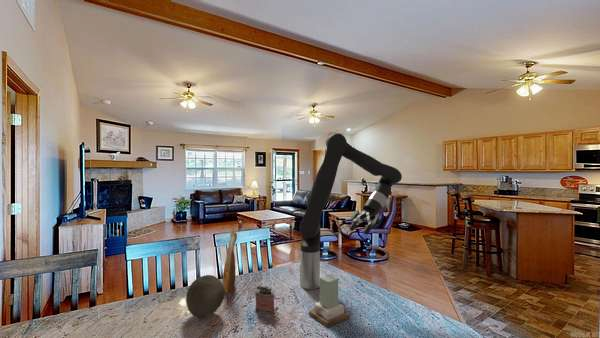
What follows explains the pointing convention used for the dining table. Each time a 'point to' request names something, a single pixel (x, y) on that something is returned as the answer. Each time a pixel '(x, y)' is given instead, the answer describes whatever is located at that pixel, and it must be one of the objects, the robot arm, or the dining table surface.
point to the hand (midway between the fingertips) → (357, 231)
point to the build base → (328, 322)
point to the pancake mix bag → (230, 264)
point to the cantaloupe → (205, 296)
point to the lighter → (264, 300)
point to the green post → (329, 291)
